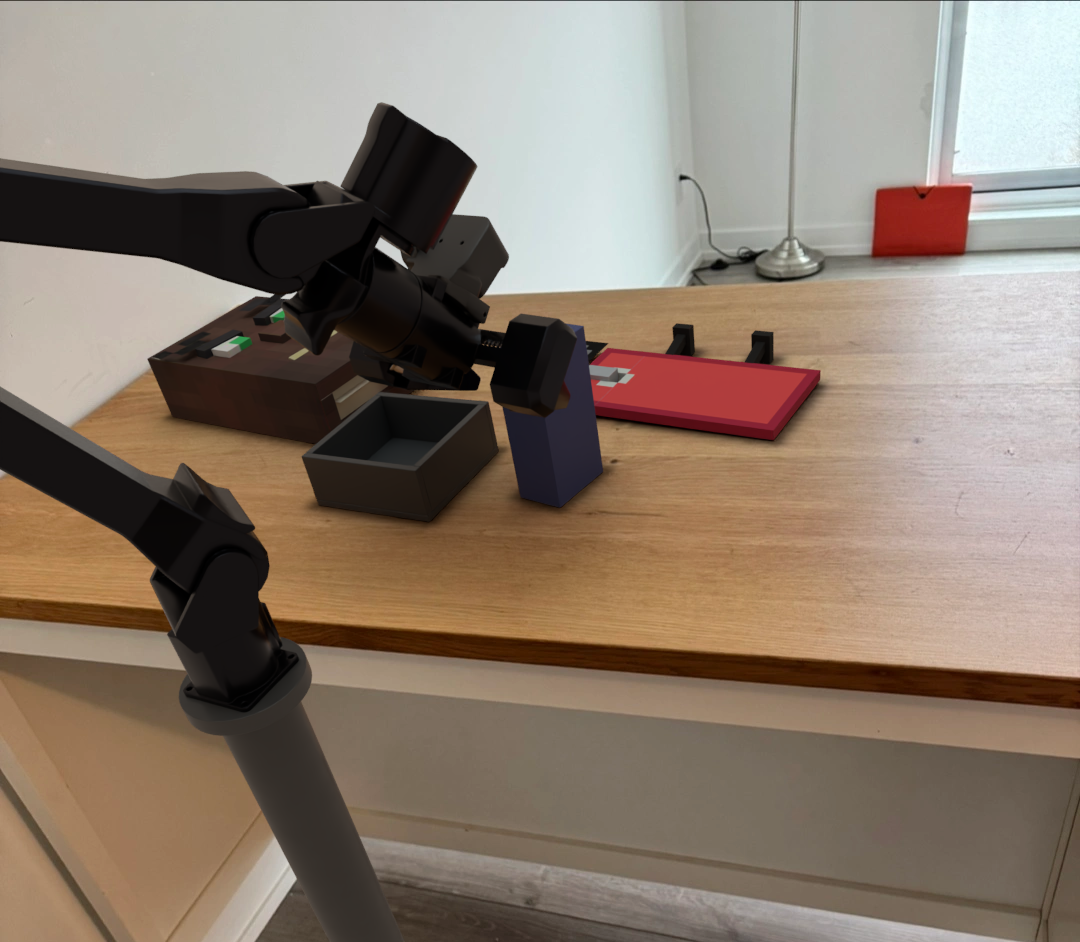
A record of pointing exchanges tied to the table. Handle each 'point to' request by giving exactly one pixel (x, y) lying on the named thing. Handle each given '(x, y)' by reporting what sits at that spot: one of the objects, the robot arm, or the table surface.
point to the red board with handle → (699, 387)
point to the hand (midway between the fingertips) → (521, 392)
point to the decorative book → (261, 376)
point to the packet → (558, 439)
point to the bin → (402, 455)
